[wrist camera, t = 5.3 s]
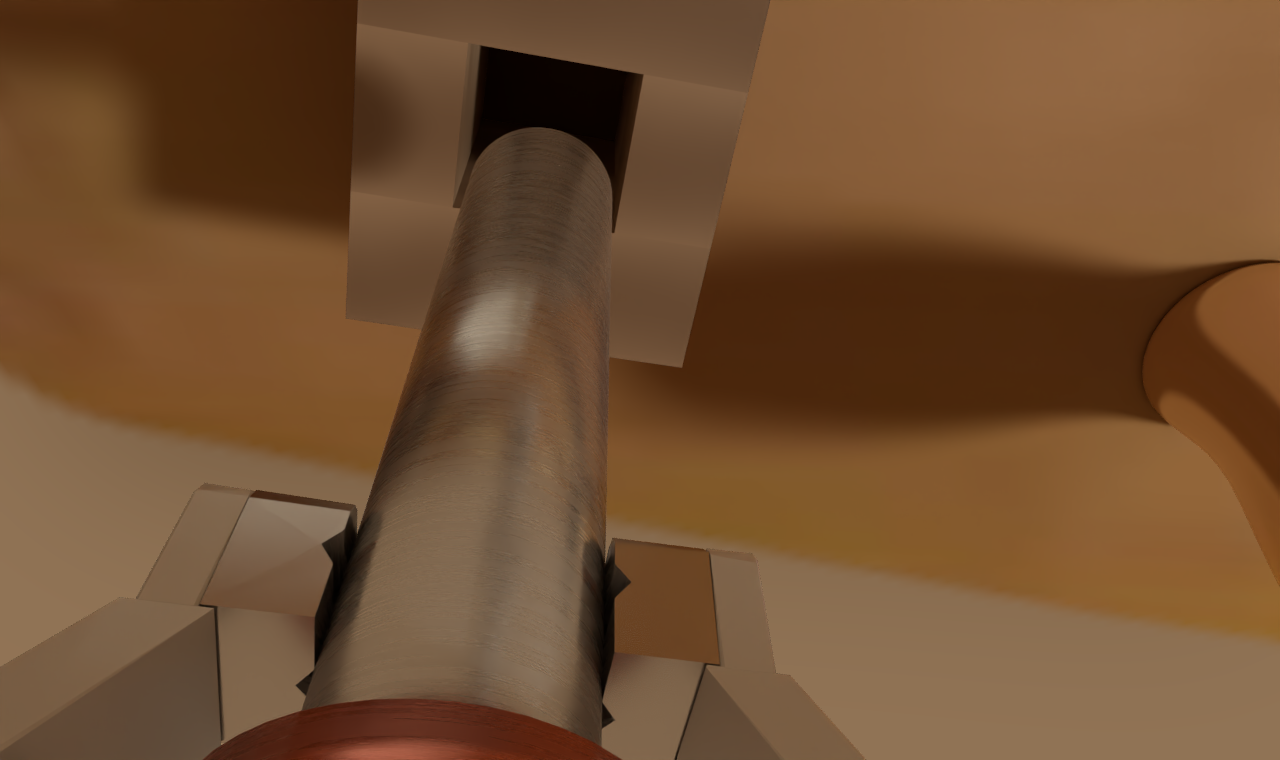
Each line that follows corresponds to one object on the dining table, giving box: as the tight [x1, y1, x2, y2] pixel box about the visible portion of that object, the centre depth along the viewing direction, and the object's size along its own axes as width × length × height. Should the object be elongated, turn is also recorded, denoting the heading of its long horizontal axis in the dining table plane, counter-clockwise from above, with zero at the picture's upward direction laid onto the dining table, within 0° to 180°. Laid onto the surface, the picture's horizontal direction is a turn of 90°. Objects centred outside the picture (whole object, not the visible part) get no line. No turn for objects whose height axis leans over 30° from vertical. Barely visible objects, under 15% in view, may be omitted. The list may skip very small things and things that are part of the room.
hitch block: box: [346, 0, 770, 368], centre depth 25 cm, size 10×8×6 cm
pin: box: [203, 127, 622, 760], centre depth 13 cm, size 4×4×14 cm
